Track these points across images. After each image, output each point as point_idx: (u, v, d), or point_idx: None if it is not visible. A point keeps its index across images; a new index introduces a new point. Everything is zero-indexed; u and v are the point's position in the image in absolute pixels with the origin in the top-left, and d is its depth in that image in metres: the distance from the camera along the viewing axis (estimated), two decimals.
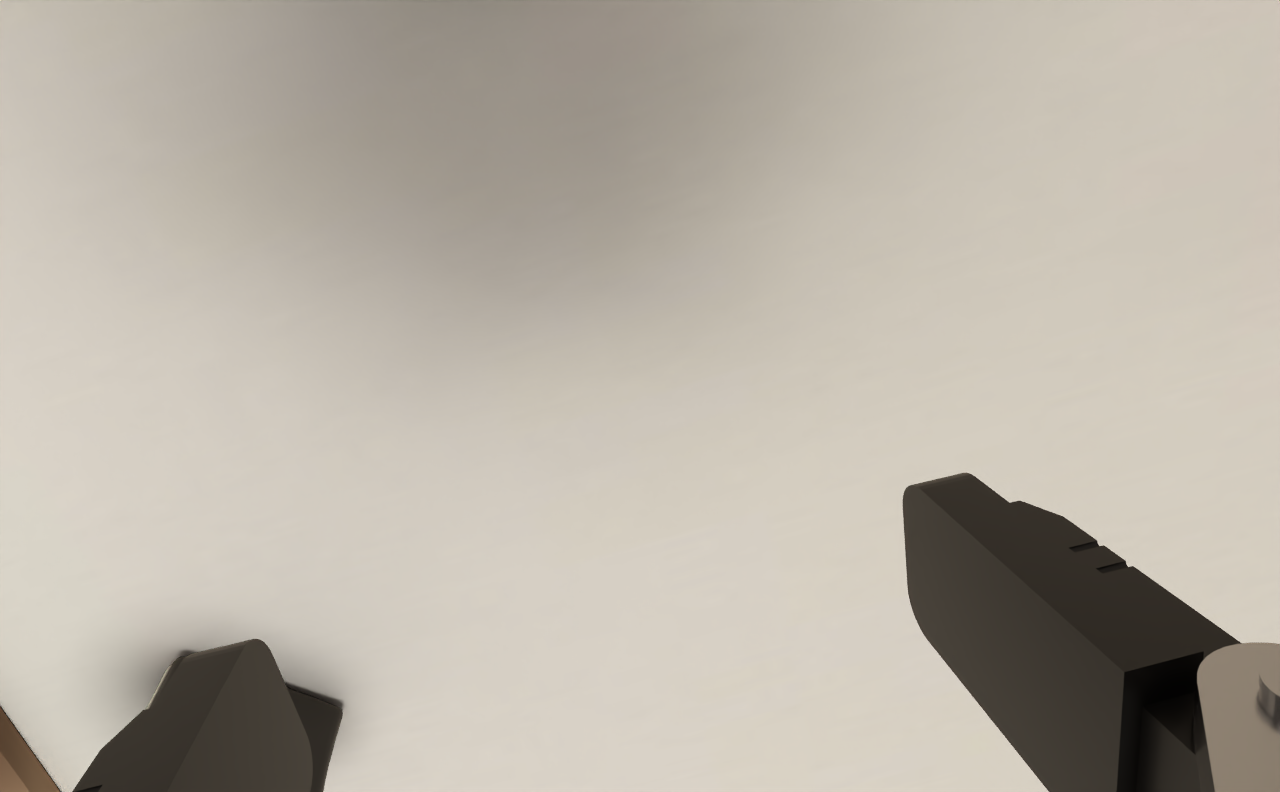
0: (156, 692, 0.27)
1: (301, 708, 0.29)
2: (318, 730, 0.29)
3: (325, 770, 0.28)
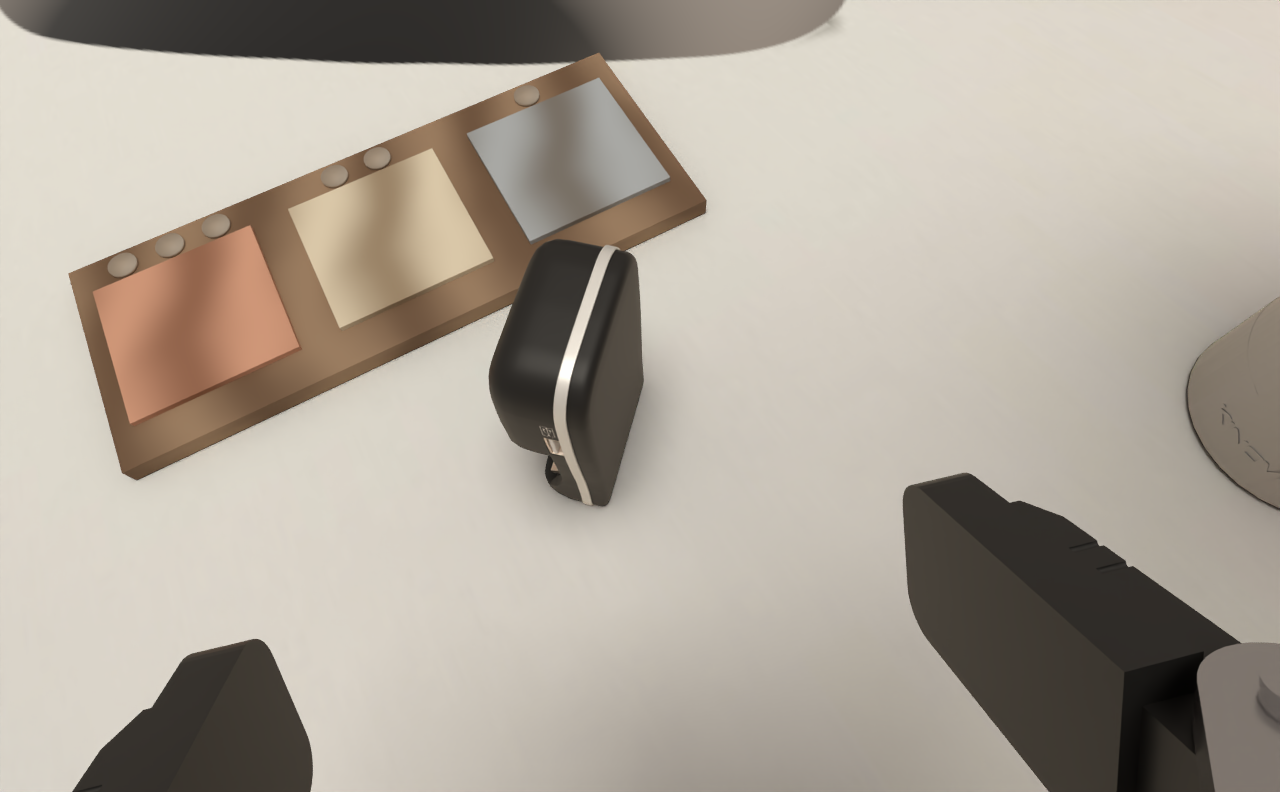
0: None
1: (617, 467, 0.33)
2: (610, 480, 0.32)
3: (602, 483, 0.30)
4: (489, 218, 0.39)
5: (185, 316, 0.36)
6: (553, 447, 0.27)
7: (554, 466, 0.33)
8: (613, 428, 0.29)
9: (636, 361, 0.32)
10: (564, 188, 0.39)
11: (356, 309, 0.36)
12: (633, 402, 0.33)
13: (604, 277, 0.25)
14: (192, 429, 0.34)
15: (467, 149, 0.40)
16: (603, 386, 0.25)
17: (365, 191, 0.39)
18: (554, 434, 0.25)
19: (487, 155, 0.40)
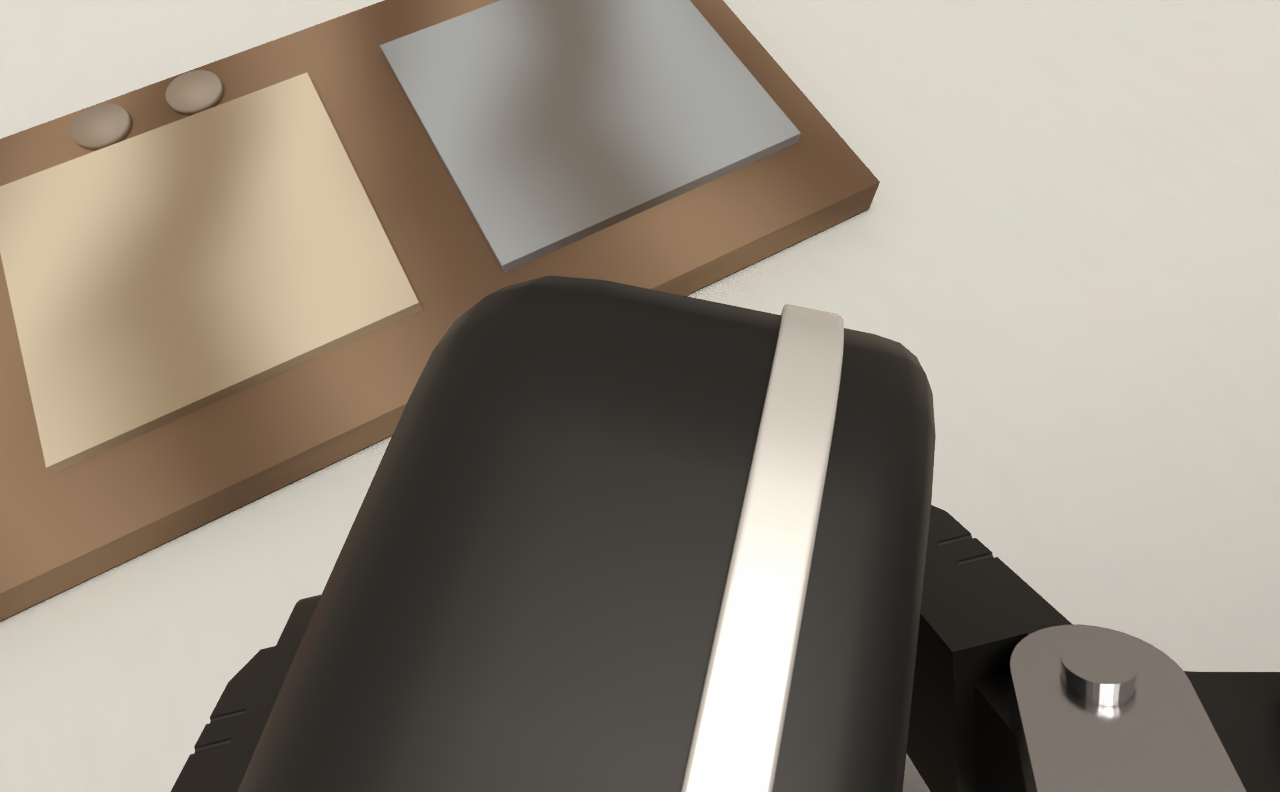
0: None
1: None
2: None
3: None
4: (417, 215, 0.18)
5: None
6: None
7: None
8: None
9: None
10: (578, 154, 0.18)
11: (94, 421, 0.16)
12: None
13: (825, 512, 0.04)
14: None
15: (380, 76, 0.20)
16: None
17: (157, 156, 0.19)
18: None
19: (419, 87, 0.19)
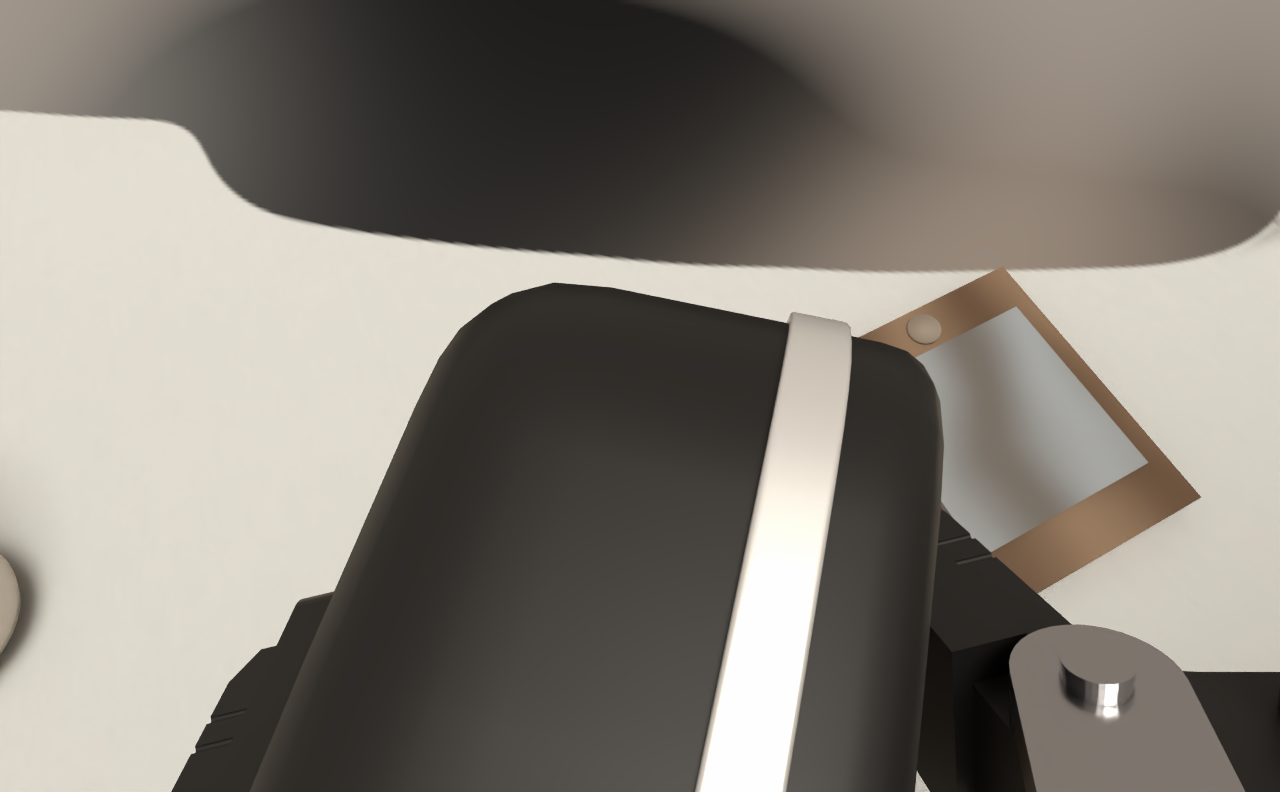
0: None
1: None
2: None
3: None
4: None
5: None
6: None
7: None
8: None
9: None
10: (1009, 475, 0.29)
11: None
12: None
13: (833, 521, 0.04)
14: None
15: None
16: None
17: None
18: None
19: None
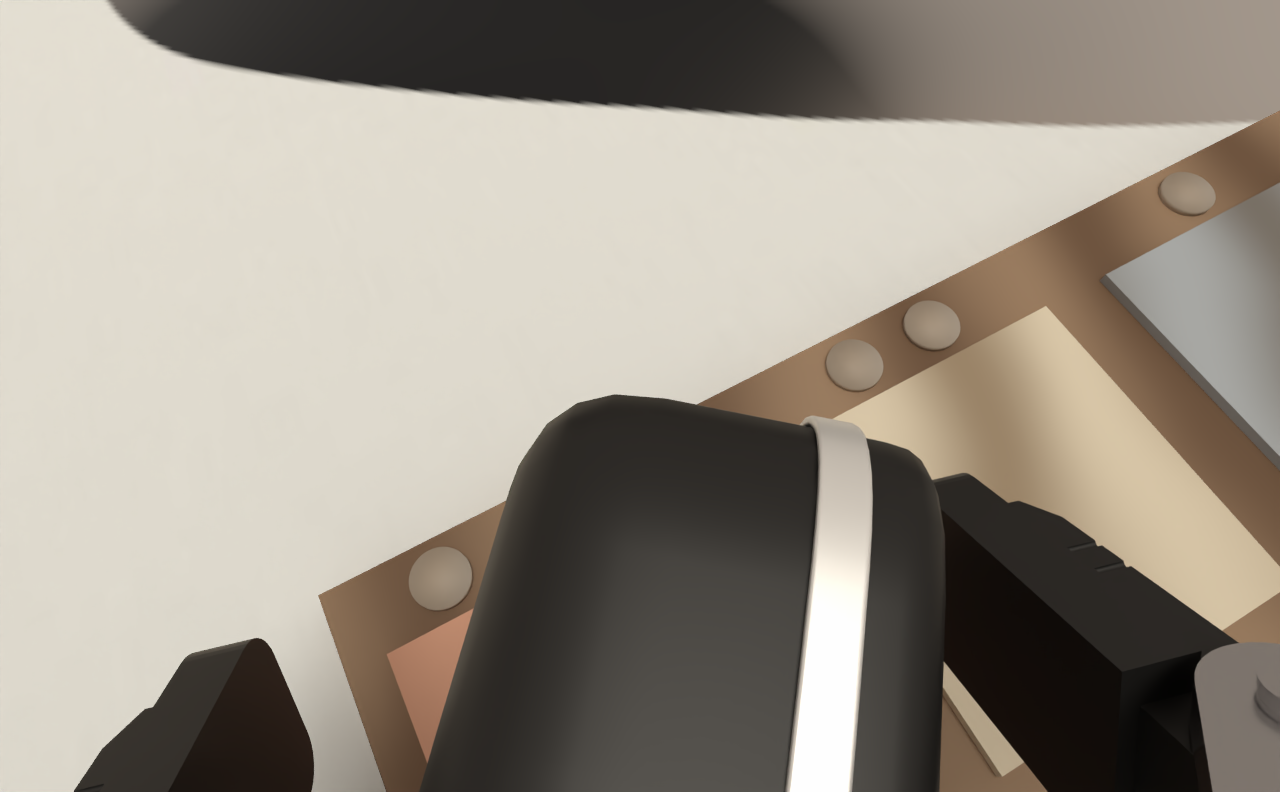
0: None
1: None
2: None
3: None
4: (1224, 472, 0.18)
5: None
6: None
7: None
8: None
9: None
10: None
11: None
12: None
13: (869, 610, 0.05)
14: None
15: (1108, 306, 0.20)
16: None
17: (939, 405, 0.18)
18: None
19: (1171, 325, 0.19)
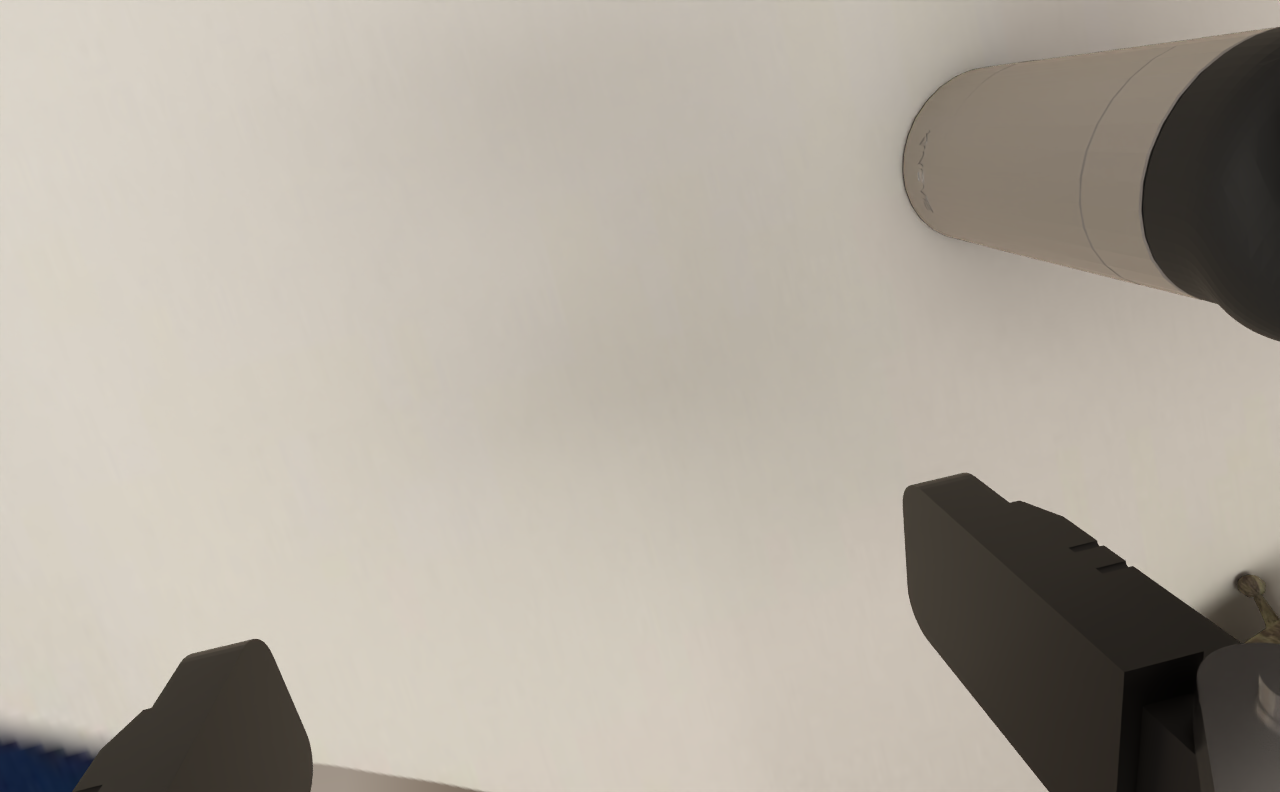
0: None
1: None
2: None
3: None
4: None
5: None
6: None
7: None
8: None
9: None
10: None
11: None
12: None
13: None
14: None
15: None
16: None
17: None
18: None
19: None
